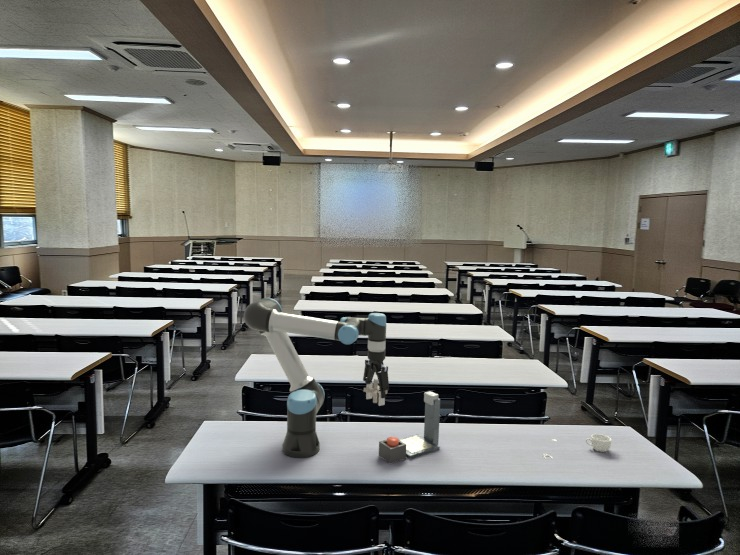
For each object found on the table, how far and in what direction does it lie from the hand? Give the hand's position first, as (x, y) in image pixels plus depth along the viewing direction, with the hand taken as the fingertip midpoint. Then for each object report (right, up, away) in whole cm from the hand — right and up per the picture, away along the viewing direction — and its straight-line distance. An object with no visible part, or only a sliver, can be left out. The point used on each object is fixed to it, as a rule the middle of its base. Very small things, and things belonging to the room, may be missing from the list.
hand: (375, 401), depth 208 cm
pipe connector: (0, 0, 0) cm, 1 cm away
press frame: (+17, -18, -3) cm, 26 cm away
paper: (+74, -21, -4) cm, 77 cm away
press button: (+7, -15, -13) cm, 21 cm away
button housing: (+7, -19, -13) cm, 24 cm away
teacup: (+95, -21, 0) cm, 97 cm away
